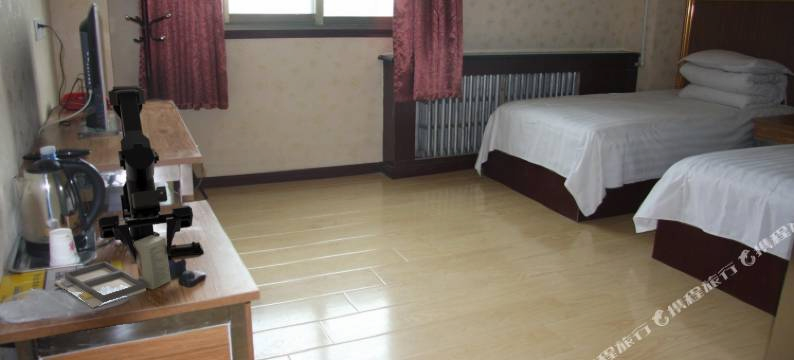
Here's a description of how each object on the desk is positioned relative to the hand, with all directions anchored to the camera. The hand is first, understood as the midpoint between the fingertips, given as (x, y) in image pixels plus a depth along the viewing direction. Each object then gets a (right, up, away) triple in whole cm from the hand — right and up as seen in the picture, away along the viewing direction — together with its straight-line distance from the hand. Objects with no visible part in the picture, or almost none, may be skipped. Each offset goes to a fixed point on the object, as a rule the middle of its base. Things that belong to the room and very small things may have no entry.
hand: (152, 257), depth 132 cm
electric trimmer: (-3, -3, +19) cm, 19 cm away
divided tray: (-12, -7, +1) cm, 13 cm away
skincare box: (-1, -6, +3) cm, 7 cm away
